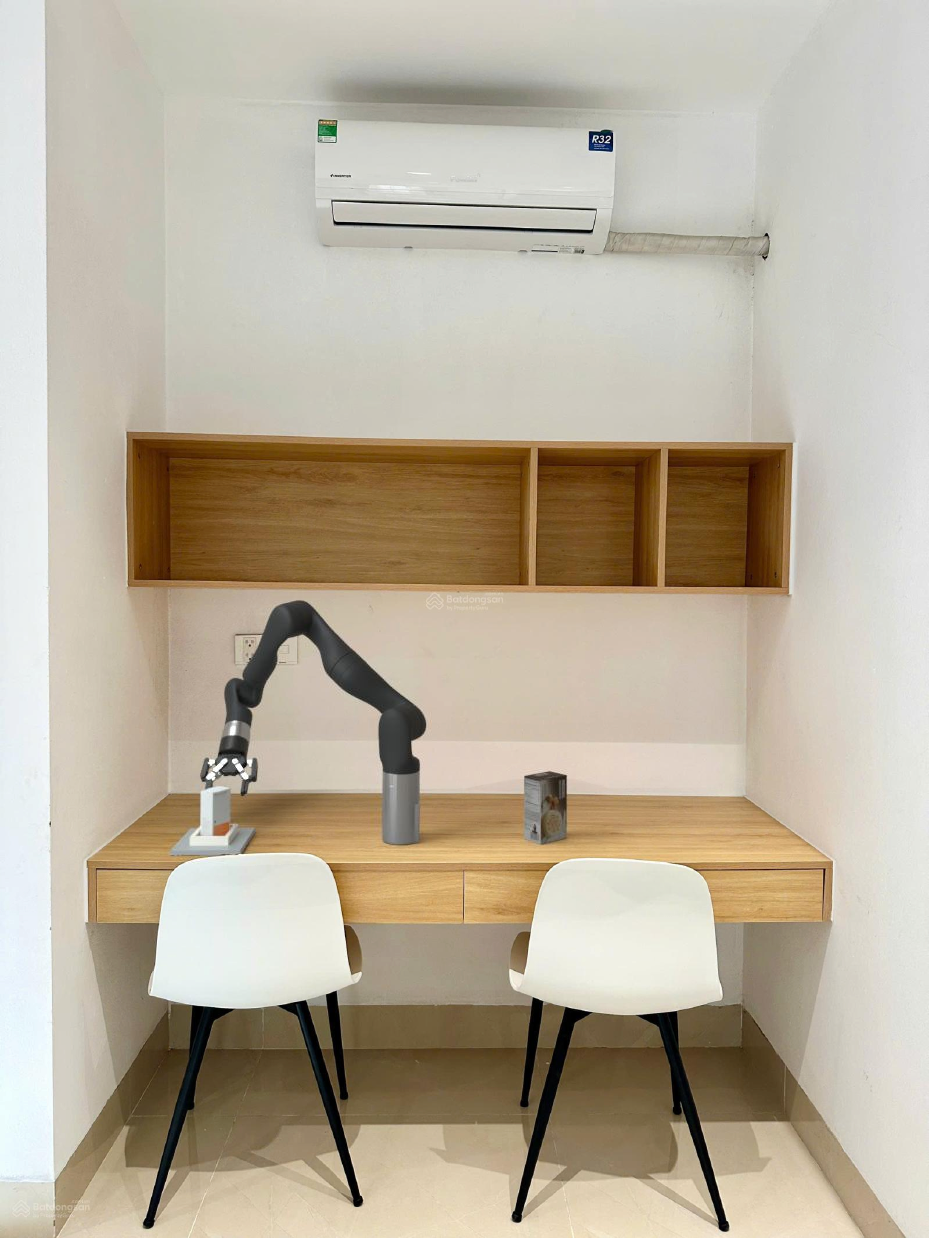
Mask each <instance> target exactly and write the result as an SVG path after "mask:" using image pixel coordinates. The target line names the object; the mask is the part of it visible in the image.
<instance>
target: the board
mask: <svg viewBox="0 0 929 1238" xmlns="http://www.w3.org/2000/svg"><path fill="white" fill-rule="evenodd" d="M255 833H256V827H239V824H238V823H230V830H229V831H228V833H227V834H226V835H225V836H200V825H199V826H198V827H191V828H189V829H188V831H187V832H186V833H185V834H183V836H182V837H181V838H180V839H179V840H178V842H177V843H175V845H174V846H173V847H172V848H171V849H170V851H169V852H170V853H169V855H174V856H173V857H175V856H176V857H177V855H179V857H180V855H200V856H221V855H220V854H237V853H241V854H242V853H243V852H244V850H245V849H244V848H247V846H248V844H249V843H250V841H251V839H252V838H253V837H254V835H255ZM251 837H252V838H251ZM248 842H249V843H248ZM246 845H247V846H246Z"/></svg>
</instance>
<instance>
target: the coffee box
mask: <svg viewBox="0 0 929 1238" xmlns="http://www.w3.org/2000/svg"><path fill="white" fill-rule="evenodd" d="M523 777H524V778H523V779H524V780H523V781H524V783H523V785H524V786H523V787H524V790H523V792H524V796H523V797H524V800H523V806H524V807H523V809H524V810H523V816H524V818H523V819H524V820H523V821H524V822H523V829H524V831H523V834H524V835H523V838H524V840H527V841H530V842H532V843H536V844H538V845H544V844H548V843H552V842H555V841H559V840H562V839H563V840H564V839H567V838H568V837H567V836H568V835H567V834H568V833H567V831H568V830H567V827H568V821H567V818H568V817H567V816H568V815H567V814H568V813H567V811H568V809H567V808H568V803H567V802H568V797H567V796H568V782H567V781H568V775H567V774H562V773H560V772H559V773H558V772H555V771H549V770H548V771H544V772H538V773H533V774H532V773H531V774H527V775H524V776H523Z"/></svg>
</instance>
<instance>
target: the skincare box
mask: <svg viewBox="0 0 929 1238" xmlns="http://www.w3.org/2000/svg"><path fill="white" fill-rule="evenodd" d="M231 790H232V789H231V788H230V787H225V786H221V785H219V786H218V785H217V786H213V787H212V788H209V789H206V790H205V789H203V790H200V816H199V817H200V818H199V819H200V822H199V823H200V825H199V826H200V836H225V835H226V834H227V833H228V831H229V830H230V824H231V802H232V801H231V797H232V795H231Z"/></svg>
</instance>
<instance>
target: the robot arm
mask: <svg viewBox="0 0 929 1238" xmlns="http://www.w3.org/2000/svg"><path fill="white" fill-rule="evenodd" d="M302 635H303V636H304V637H306V638H307V639H309V640H310V642H311V643H313V644H314V645H315V646H316V648H317V649H318V651H319V654H320V659H321V662H322V666H323V669H324V672H325V674H326V675H327V676H328V677H329V678H330V679H331V680H332V681H333V682H334V683H335V684H336V685H337V686H338V687H339V688H340V689H341V690H342V691H344V692H345V693H347V694H348V695H350V696H352V697H354V698H356V699H358V700H359V701H361V702H364V703H365V704H368V705H370V706H372V707H373V708H374V709H376V710H377V711H378V712H379V713H380V714H381V715H380V717H379V721H378V730H377V731H378V733H377V734H378V735H377V736H378V752H379V753H378V754H379V759H380V762H381V764H382V765H381V766H382V767H381V768H382V786H381V788H382V789H381V790H382V795H381V796H382V798H381V801H382V802H381V804H382V810H381V811H382V812H381V813H382V815H381V817H382V819H381V820H382V821H381V823H382V825H381V826H382V827H381V828H382V829H381V839H382V842H383V843H386V844H390V845H399V846H400V845H401V846H403V845H410V844H415V843H416V844H417V843H420V832H421V831H420V828H421V827H420V824H421V823H420V821H421V820H420V819H421V815H420V813H421V808H420V807H421V806H420V805H421V804H420V803H421V802H420V800H421V798H420V797H421V796H420V794H421V792H420V790H421V789H420V785H421V783H420V782H421V781H420V777H421V776H420V774H421V761H420V759H419V758H418V757H416V756H414V755H413V749H412V748H413V747H412V746H413V745H412V743H413V741H416V740H418V739H419V738H421V737H422V736H423V735H424V734H425V732H426V729H427V720H426V717H425V714H424V712H422V710H421V709H420V708H419V707H418V706H417V705H416V704H415V703H413V702H412V701H411V700H410V699H408V698H406V697H405V696H404V695H402V694H401V693H400V692H398V690H397V689H395V688H394V687H392V686H391V684H389V682H387V681H386V679H384V678H383V676H381V675H380V674H379V673H378V672H377V671H376V670H375V669H374V668H372V667H371V666H370V664H368V663H367V661H366V660H365V659H363V657H361V656H360V655H359V654H358V653H357V652H356V650H354V649H353V648H352V647H350V646H349V645H348V644H347V643H346V642H345V641H344V639H343V638H341V637H340V636H339V634H337V632H335V631H334V629H333V628H332V627H331V626H330V625H329V624H328V623H327V622H326V621H325V619H324V618H323V617H322V616H321V614H320V613H319V612H318V611H317V609H315V608H314V606H312V605H311V604H310V603H309V602H308V601H305V600H303V599H302V600H300V599H299V600H293V601H289V602H285V603H281V604H279V605H276V606H275V607H274V608H273V609H272V611H271V612H270V614H269V617H268V619H267V622H266V625H265V627H264V629H263V632H262V635H261V638H260V641H259V643H258V645H257V647H256V650H255V651H254V653H253V655H252V656H251V658H250V659H249V661H248V662H247V664H246V666H245V667H244V668H243V670H242V678H240V677H232V678H231V679H229V680H227V682H226V684H225V686H224V692H223V695H224V702H225V703H224V704H225V711H226V715H225V721H224V725H223V730H222V732H221V737H220V742H219V746H218V753H217V757H216V758H215V759H209V757H205V758H204V760H203V763H202V767H201V770H200V774H199V777H200V780H201V782H202V783H205V787H204V790H206V789H209V788H213V787H214V782H216V780H219V779H220V778H221V777H222V776H223V777H229V776H231V777H236V776H239V778H240V780H241V787H240V796H241V797H245V795H247V794H248V791H249V785H250V783H256V782H257V781H258V772H259V771H258V769H259V762H258V759H257V758H256V757H253V758H252V759H248V754H249V753H248V752H249V747H250V743H251V729H252V723H253V722H252V721H253V712H252V710H251V709H254V708H256V707H258V706H259V705H260V703H261V702H262V700H263V699H262V698H263V695H264V689H265V686H266V684H267V682H268V680H269V678H270V677H271V676H272V675H273V672H274V671H275V670H276V667H277V664H278V662H279V661H278V658H279V656H278V651H279V649H280V647H282V645H283V644H284V643H285V642H286V641H287V640H288V639H290V638H291V639H293V638H296V637H299V636H302ZM213 766H215V767H214V768H213ZM248 766H249V768H250V769H251V772H250V775H248V774H247V772H245V769H246V768H247V767H248ZM210 769H212V771H211V772H210ZM209 772H210V773H209Z"/></svg>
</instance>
